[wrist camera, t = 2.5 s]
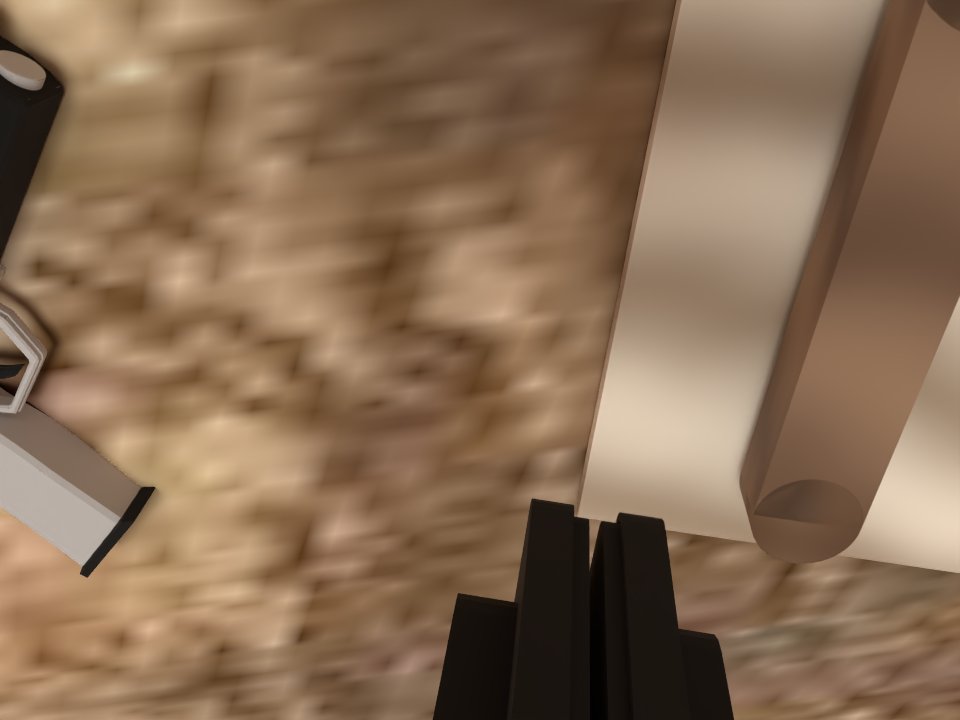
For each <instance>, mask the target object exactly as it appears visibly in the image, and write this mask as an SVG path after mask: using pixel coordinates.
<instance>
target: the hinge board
mask: <svg viewBox="0 0 960 720" xmlns="http://www.w3.org/2000/svg"><path fill="white" fill-rule="evenodd" d="M889 2H890V0H676V5H675V10H674V15H673V21H672V26H671V31H670V36H669V41H668V46H667V51H666V56H665V61H664V66H663V71H662V76H661V81H660V86H659V91H658V96H657V101H656V106H655V111H654V116H653V121H652V126H651V131H650V136H649V141H648V146H647V151H646V156H645V161H644V166H643V171H642V176H641V181H640V186H639V191H638V197H637V202H636V207H635V212H634V217H633V222H632V227H631V232H630V237H629V242H628V247H627V252H626V257H625V262H624V267H623V272H622V277H621V282H620V287H619V292H618V297H617V302H616V307H615V312H614V317H613V322H612V327H611V332H610V337H609V342H608V347H607V352H606V357H605V362H604V367H603V373H602V378H601V383H600V388H599V393H598V398H597V403H596V408H595V413H594V418H593V423H592V428H591V433H590V438H589V443H588V448H587V453H586V458H585V463H584V468H583V473H582V478H581V483H580V488H579V493H578V516H577V517H582V518H589V519H596V520H603V521H609V522H616V519H617V516H618V514H619V513H620V512H622V513H629V514H635V515H642V516H648V517H655V518H661V519H663V520H664V524H665V529H666V530H671V531H677V532H684V533H691V534H698V535H704V536H711V537H718V538H725V539H732V540H738V541H745V542H752V543H757V542H756V541H755V539H754V537H753V534H752V530H751V526H750V523H749V519H748V516H747V512H746V508H745V505H744V501H743V497H742V494H741V490H740V484H739V481H740V474H741V470H742V467H743V464H744V461H745V458H746V455H747V451H748V448H749V445H750V442H751V439H752V436H753V433H754V429H755V426H756V423H757V420H758V417H759V414H760V410H761V407H762V404H763V401H764V398H765V395H766V391H767V388H768V385H769V382H770V379H771V376H772V372H773V369H774V366H775V363H776V360H777V357H778V353H779V350H780V347H781V344H782V341H783V338H784V334H785V331H786V328H787V325H788V322H789V319H790V315H791V312H792V309H793V306H794V303H795V300H796V296H797V293H798V290H799V287H800V284H801V281H802V277H803V274H804V271H805V268H806V265H807V262H808V258H809V255H810V252H811V249H812V246H813V243H814V239H815V236H816V233H817V230H818V227H819V224H820V220H821V217H822V214H823V211H824V208H825V205H826V201H827V198H828V195H829V192H830V189H831V186H832V182H833V179H834V176H835V173H836V170H837V167H838V163H839V160H840V157H841V154H842V151H843V148H844V145H845V141H846V138H847V135H848V132H849V129H850V126H851V122H852V119H853V116H854V113H855V110H856V107H857V103H858V100H859V97H860V94H861V91H862V88H863V84H864V81H865V78H866V75H867V72H868V69H869V65H870V62H871V59H872V56H873V53H874V50H875V46H876V43H877V40H878V37H879V34H880V31H881V27H882V24H883V21H884V18H885V15H886V12H887V8H888V5H889ZM837 555H840V556H847V557H854V558H861V559H867V560H874V561H881V562H888V563H895V564H901V565H908V566H915V567H922V568H929V569H935V570H942V571H949V572H956V573H960V297H959V299H958V302H957V304H956V306H955V309H954V311H953V314H952V316H951V318H950V321H949V323H948V325H947V328H946V330H945V332H944V335H943V337H942V340H941V342H940V344H939V347H938V349H937V351H936V354H935V356H934V358H933V361H932V363H931V366H930V368H929V370H928V373H927V375H926V377H925V380H924V382H923V385H922V387H921V389H920V392H919V394H918V396H917V399H916V401H915V403H914V406H913V408H912V411H911V413H910V415H909V418H908V420H907V422H906V425H905V427H904V429H903V432H902V434H901V437H900V439H899V441H898V444H897V446H896V448H895V451H894V453H893V455H892V458H891V460H890V463H889V465H888V467H887V470H886V472H885V474H884V477H883V479H882V481H881V484H880V486H879V489H878V491H877V493H876V496H875V498H874V500H873V503H872V505H871V507H870V510H869V512H868V515H867V517H866V519H865V522H864V524H863V526H862V529H861V531H860V533H859V535H858V537H857V538H856V539H855V541H854V542H853V543H852V544H851V545H850V546H849V547H848V548H847V549H845V550H844V551H842V552H841V553H839V554H837Z"/></svg>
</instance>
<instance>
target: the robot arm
mask: <svg viewBox="0 0 960 720" xmlns="http://www.w3.org/2000/svg"><path fill="white" fill-rule="evenodd" d="M433 720H734V717H733V711H732V706H731V700H730V695H729V690H728V684H727V679H726V674H725V668H724V663H723V657H722V652H721V648H720V645H719V641H718V639H717V638H716V636H715V635H714V634H708V633H702V632H696V631H689V630H683V629H678V621H677V614H676V606H675V598H674V591H673V583H672V575H671V568H670V560H669V552H668V545H667V537H666V529H665V524H664V520H663V519H661V518H655V517H648V516H642V515H635V514H629V513H622V512H620V513H619V514H618V516H617V519H616V523H612V522H605V521H602V522H601V523H600V527H599V531H598V535H597V540H596V544H595V549H594V553H593V558H592V563H591V567H590V572H589V519H586V518H580V517H574V505H570V504H564V503H557V502H551V501H544V500H538V499H532V500H531V505H530V510H529V516H528V522H527V528H526V534H525V540H524V547H523V553H522V559H521V565H520V571H519V577H518V583H517V589H516V595H515V601H514V602H509V601H503V600H497V599H491V598H485V597H478V596H472V595H466V594H460V593H458V595H457V599H456V604H455V609H454V614H453V619H452V624H451V629H450V635H449V640H448V645H447V650H446V655H445V660H444V665H443V670H442V675H441V681H440V686H439V691H438V696H437V701H436V706H435V711H434V716H433Z"/></svg>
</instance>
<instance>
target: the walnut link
mask: <svg viewBox="0 0 960 720" xmlns="http://www.w3.org/2000/svg"><path fill="white" fill-rule="evenodd" d="M959 297H960V0H890V2H889V5H888V8H887V12H886V15H885V18H884V21H883V24H882V27H881V31H880V34H879V37H878V40H877V43H876V46H875V50H874V53H873V56H872V59H871V62H870V65H869V69H868V72H867V75H866V78H865V81H864V84H863V88H862V91H861V94H860V97H859V100H858V103H857V107H856V110H855V113H854V116H853V119H852V122H851V126H850V129H849V132H848V135H847V138H846V141H845V145H844V148H843V151H842V154H841V157H840V160H839V163H838V167H837V170H836V173H835V176H834V179H833V182H832V186H831V189H830V192H829V195H828V198H827V201H826V205H825V208H824V211H823V214H822V217H821V220H820V224H819V227H818V230H817V233H816V236H815V239H814V243H813V246H812V249H811V252H810V255H809V258H808V262H807V265H806V268H805V271H804V274H803V277H802V281H801V284H800V287H799V290H798V293H797V296H796V300H795V303H794V306H793V309H792V312H791V315H790V319H789V322H788V325H787V328H786V331H785V334H784V338H783V341H782V344H781V347H780V350H779V353H778V357H777V360H776V363H775V366H774V369H773V372H772V376H771V379H770V382H769V385H768V388H767V391H766V395H765V398H764V401H763V404H762V407H761V410H760V414H759V417H758V420H757V423H756V426H755V429H754V433H753V436H752V439H751V442H750V445H749V448H748V451H747V455H746V458H745V461H744V464H743V467H742V470H741V474H740V481H739V484H740V490H741V494H742V497H743V501H744V505H745V508H746V512H747V516H748V519H749V523H750V526H751V530H752V534H753V537H754V539H755V541H756V542H757V544H758V545H759V547H760V548H761V549H762V550H763V551H765V552H766V553H767V554H769V555H771V556H772V557H774V558H777V559H779V560H782V561H786V562H791V563H814V562H819V561H823V560H826V559H829V558H831V557H834V556H836V555H837V554H839V553H841V552H842V551H844V550H845V549H847V548H848V547H849V546H850V545H851V544H852V543H853V542H854V541H855V539H856V538H857V537H858V535H859V533H860V531H861V529H862V526H863V524H864V522H865V519H866V517H867V515H868V512H869V510H870V507H871V505H872V503H873V500H874V498H875V496H876V493H877V491H878V489H879V486H880V484H881V481H882V479H883V477H884V474H885V472H886V470H887V467H888V465H889V463H890V460H891V458H892V455H893V453H894V451H895V448H896V446H897V444H898V441H899V439H900V437H901V434H902V432H903V429H904V427H905V425H906V422H907V420H908V418H909V415H910V413H911V411H912V408H913V406H914V403H915V401H916V399H917V396H918V394H919V392H920V389H921V387H922V385H923V382H924V380H925V377H926V375H927V373H928V370H929V368H930V366H931V363H932V361H933V358H934V356H935V354H936V351H937V349H938V347H939V344H940V342H941V340H942V337H943V335H944V332H945V330H946V328H947V325H948V323H949V321H950V318H951V316H952V314H953V311H954V309H955V306H956V304H957V302H958V299H959Z"/></svg>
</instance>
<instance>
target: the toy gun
mask: <svg viewBox="0 0 960 720" xmlns="http://www.w3.org/2000/svg"><path fill="white" fill-rule="evenodd" d="M62 94H63V88H62V86H61V84H60V83H59V82H58V81H57V80H56V79H55V78H54V76H53V75H52V74H51V73H50V72H49V71H48V70H47V69H46V68H44V67H43V66H42V65H41V64H40V63H39V62H37V61H36V60H35V59H34V58H33V57H32V56H30V55H29V54H28V53H26V52H25V51H23V50H22V49H20V48H19V47H17V46H15V45H14V44H12V43H11V42H9V41H8V40H6V39H5V38H3V37H1V36H0V257H1V255H2V252H3V249H4V247H5V244H6V241H7V239H8V236H9V234H10V231H11V228H12V226H13V223H14V220H15V218H16V215H17V213H18V210H19V207H20V205H21V202H22V199H23V197H24V194H25V192H26V189H27V186H28V184H29V181H30V178H31V176H32V173H33V171H34V168H35V165H36V163H37V160H38V157H39V155H40V152H41V150H42V147H43V144H44V142H45V139H46V136H47V134H48V131H49V129H50V126H51V123H52V121H53V118H54V115H55V113H56V110H57V108H58V105H59V102H60V100H61V97H62ZM5 269H6V268H5V267H4V266H2V265H1V264H0V282H1V279H2V277H3V274H4V271H5ZM0 328H1V329H2V330H3V331H4V332H5V333H6V334H7V336H8V337H9V338H10V339H11V340H12V341H13V342H14V343H15V345H16V346H17V347H18V348H19V349H20V350H21V351H22V353H23V354H24V355H25V356H26V357H27V358H28V359H29V365H28V367H27V369H26V372H25V374H24V376H23V379H22V381H21V383H20V385H19V388H18V390H17V392H16V395H15V396H13V395H11V394H9V393H8V392H6V391H5V390H3V389H2V388H1V387H0V507H1V508H3V509H4V510H5V511H7V512H8V513H10V514H11V515H13V516H14V517H15V518H17V519H18V520H20V521H21V522H23V523H24V524H25V525H27V526H28V527H30V528H31V529H32V530H34V531H35V532H36V533H38V534H39V535H40V536H42V537H43V538H45V539H46V540H47V541H49V542H50V543H51V544H53V545H54V546H55V547H57V548H58V549H59V550H61V551H62V552H64V553H65V554H66V555H68V556H69V557H70V558H72V559H73V560H74V561H76V562H77V563H78V564H80V565H81V566H82V570H81V572H80V574H81V575H83V576H85V577H87V578H88V576H89V575H90V574H91V573H92V572H93V570H94V569H95V568H96V567H97V566H98V564H99V563H100V562H101V561H102V560H103V558H104V557H105V556H106V555H107V553H108V552H109V551H110V550H111V549H112V547H113V546H114V545H115V544H116V543H117V541H118V540H119V539H120V538H121V537H122V535H123V534H124V533H125V532H126V531H127V529H128V528H129V527H130V526H131V525H132V523H133V522H134V521H135V519H136V518H137V516H138V515H139V513H140V511H141V510H142V508H143V507H144V505H145V504H146V502H147V500H148V499H149V497H150V496H151V494H152V493H153V491H154V489H155V487H142V488H141V487H139V486H138V485H137V484H136V483H134V482H133V481H132V480H131V479H129V478H128V477H127V476H126V475H124V474H123V473H122V472H121V471H119V470H118V469H117V468H116V467H114V466H113V465H112V464H111V463H109V462H108V461H107V460H106V459H104V458H103V457H102V456H101V455H99V454H98V453H97V452H96V451H94V450H93V449H92V448H91V447H90V446H88V445H87V444H86V443H85V442H83V441H82V440H81V439H79V438H78V437H77V436H75V435H74V434H73V433H71V432H70V431H69V430H67V429H66V428H65V427H63V426H62V425H60V424H59V423H58V422H56V421H55V420H54V419H52V418H51V417H49V416H47V415H46V414H44V413H42V412H40V411H39V410H37V409H35V408H33V407H32V406H30V405H28V404H27V403H26V400H27V398H28V396H29V394H30V391H31V389H32V387H33V385H34V382H35V380H36V378H37V376H38V373H39V371H40V369H41V367H42V365H43V362H44V360H45V358H46V355H47V349H46V348H45V347H44V346H43V344H42V343H41V342H40V341H39V340H38V338H37V337H36V336H35V335H34V334H33V333H32V331H31V330H30V329H29V328H28V327H27V326H26V325H25V323H24V322H23V321H22V320H21V319H20V318H19V316H18V315H17V314H16V313H15V312H14V311H13V310H11V309H10V308H8V307H6V306H4V305H3V304H1V303H0ZM24 365H25V364H19V365H0V379H6V378H9V377H13V376H16V375H17V374H18V372H19V371H20V370H21V368H22V367H23V366H24Z"/></svg>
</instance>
